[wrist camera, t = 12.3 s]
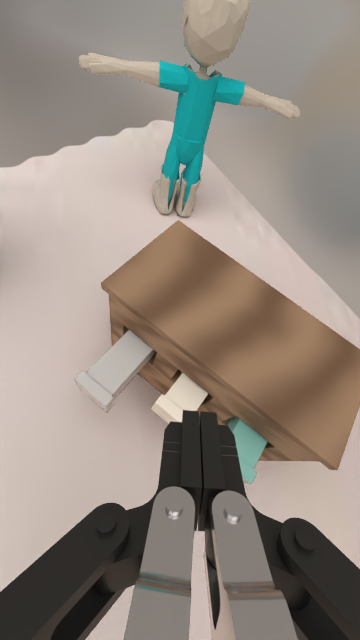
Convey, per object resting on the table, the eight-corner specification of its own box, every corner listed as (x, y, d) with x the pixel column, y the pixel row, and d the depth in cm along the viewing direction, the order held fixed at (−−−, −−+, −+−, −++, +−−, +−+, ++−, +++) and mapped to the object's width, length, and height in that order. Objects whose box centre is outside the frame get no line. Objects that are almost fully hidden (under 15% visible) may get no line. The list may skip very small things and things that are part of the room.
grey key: (79, 388, 28) (73, 378, 24) (136, 330, 32) (138, 315, 28) (106, 412, 27) (105, 406, 24) (161, 350, 31) (166, 337, 28)
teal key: (204, 454, 27) (216, 454, 24) (246, 386, 31) (261, 378, 28) (235, 480, 27) (251, 483, 23) (273, 408, 31) (292, 402, 27)
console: (108, 352, 37) (101, 282, 23) (157, 303, 42) (178, 220, 28) (243, 465, 34) (337, 470, 19) (279, 397, 39) (375, 360, 25)
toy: (241, 196, 58) (339, -13, 32) (247, 229, 54) (365, 17, 28) (95, 172, 53) (73, -104, 27) (89, 206, 49) (56, -83, 23)
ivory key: (150, 409, 28) (155, 402, 25) (198, 349, 32) (207, 336, 29) (179, 433, 28) (187, 429, 24) (224, 369, 32) (236, 358, 28)
